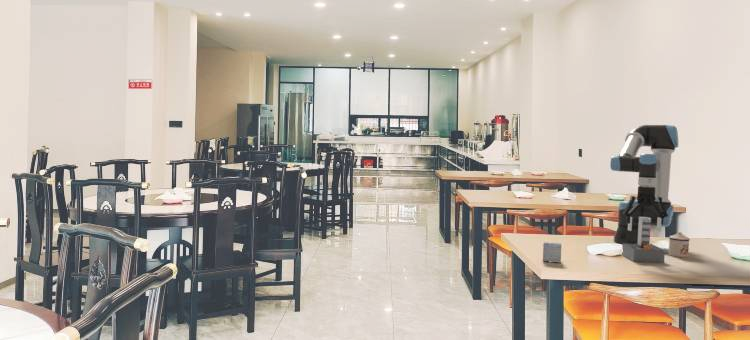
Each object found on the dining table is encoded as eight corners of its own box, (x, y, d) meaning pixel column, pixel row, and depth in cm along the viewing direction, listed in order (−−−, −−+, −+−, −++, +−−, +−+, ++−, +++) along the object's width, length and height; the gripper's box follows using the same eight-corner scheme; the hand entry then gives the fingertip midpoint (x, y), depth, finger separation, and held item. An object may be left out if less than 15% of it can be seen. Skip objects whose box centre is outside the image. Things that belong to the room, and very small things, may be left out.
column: (636, 257, 282) (638, 216, 281) (645, 258, 282) (647, 217, 280) (640, 260, 277) (642, 218, 276) (649, 260, 277) (651, 218, 276)
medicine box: (560, 261, 271) (561, 242, 270) (560, 263, 266) (561, 244, 266) (543, 259, 273) (543, 241, 272) (542, 261, 269) (543, 243, 268)
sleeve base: (622, 255, 287) (622, 240, 287) (651, 256, 287) (652, 240, 286) (633, 261, 273) (634, 245, 273) (664, 262, 273) (665, 246, 272)
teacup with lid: (683, 258, 284) (684, 234, 283) (664, 254, 291) (665, 231, 290) (694, 255, 291) (696, 232, 290) (676, 252, 298) (677, 229, 298)
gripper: (623, 186, 274) (620, 231, 276) (677, 187, 273) (674, 233, 275) (617, 184, 282) (614, 228, 283) (669, 186, 281) (667, 230, 282)
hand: (644, 230), depth 279 cm, fingers open, 13 cm apart
